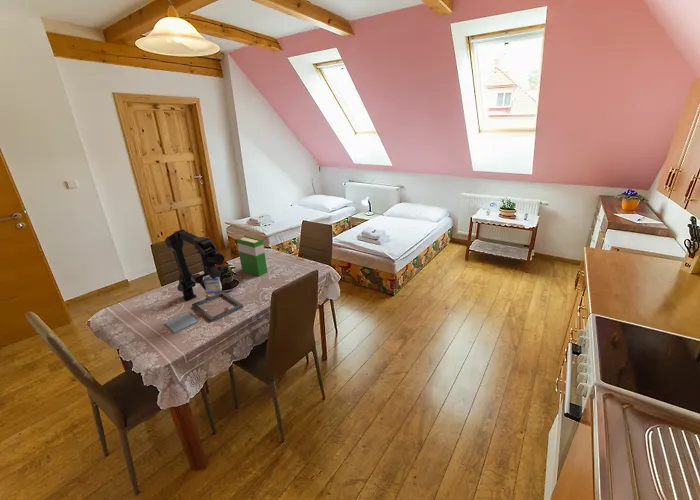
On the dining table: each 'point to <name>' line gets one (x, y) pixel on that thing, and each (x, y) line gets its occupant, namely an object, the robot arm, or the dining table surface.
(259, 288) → the dining table surface
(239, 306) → the grey hollow rectangular frame
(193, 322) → the rubber mat
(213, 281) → the medicine box
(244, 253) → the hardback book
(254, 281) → the dining table surface
